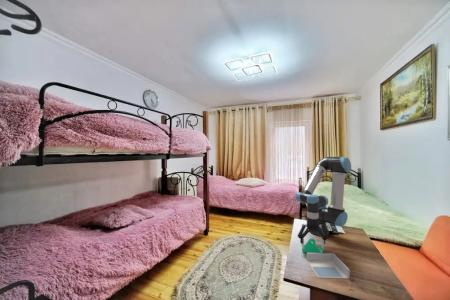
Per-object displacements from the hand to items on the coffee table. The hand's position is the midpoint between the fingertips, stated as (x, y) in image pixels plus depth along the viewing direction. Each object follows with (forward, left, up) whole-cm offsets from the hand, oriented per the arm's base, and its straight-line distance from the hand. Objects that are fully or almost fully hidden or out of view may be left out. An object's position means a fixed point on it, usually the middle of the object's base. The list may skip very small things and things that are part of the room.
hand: (312, 248), depth 134 cm
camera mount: (+1, 0, -3) cm, 3 cm away
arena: (+19, 0, -3) cm, 19 cm away
